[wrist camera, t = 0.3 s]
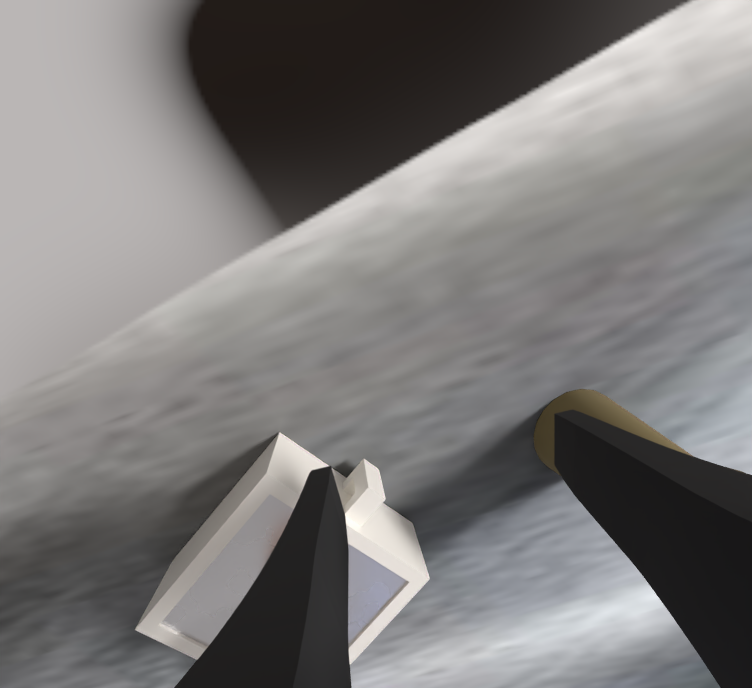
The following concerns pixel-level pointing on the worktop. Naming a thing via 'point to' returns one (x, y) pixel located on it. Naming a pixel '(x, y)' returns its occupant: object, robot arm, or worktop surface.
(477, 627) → the worktop surface
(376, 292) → the worktop surface
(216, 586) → the copper knob lid
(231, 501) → the white shallow open box
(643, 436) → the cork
